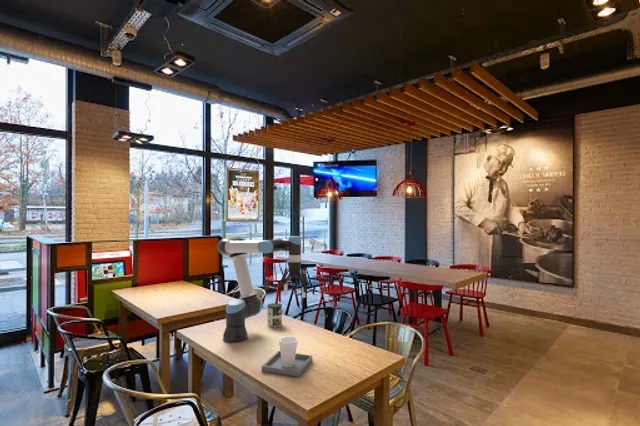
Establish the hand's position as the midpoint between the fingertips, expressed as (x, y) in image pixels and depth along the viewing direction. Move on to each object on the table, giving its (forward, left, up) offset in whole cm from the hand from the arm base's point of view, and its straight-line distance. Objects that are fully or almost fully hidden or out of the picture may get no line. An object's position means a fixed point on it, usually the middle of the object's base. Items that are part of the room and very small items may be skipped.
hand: (294, 296), depth 213 cm
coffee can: (-26, +27, -29) cm, 47 cm away
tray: (+9, -31, -29) cm, 43 cm away
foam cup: (+9, -31, -28) cm, 43 cm away
